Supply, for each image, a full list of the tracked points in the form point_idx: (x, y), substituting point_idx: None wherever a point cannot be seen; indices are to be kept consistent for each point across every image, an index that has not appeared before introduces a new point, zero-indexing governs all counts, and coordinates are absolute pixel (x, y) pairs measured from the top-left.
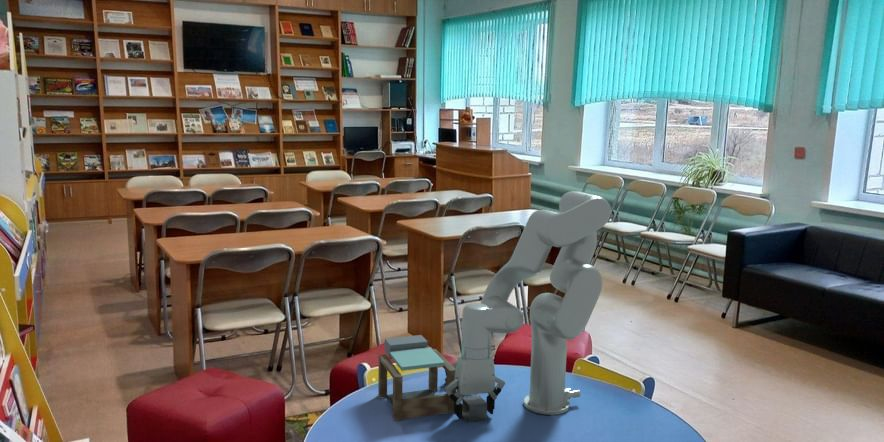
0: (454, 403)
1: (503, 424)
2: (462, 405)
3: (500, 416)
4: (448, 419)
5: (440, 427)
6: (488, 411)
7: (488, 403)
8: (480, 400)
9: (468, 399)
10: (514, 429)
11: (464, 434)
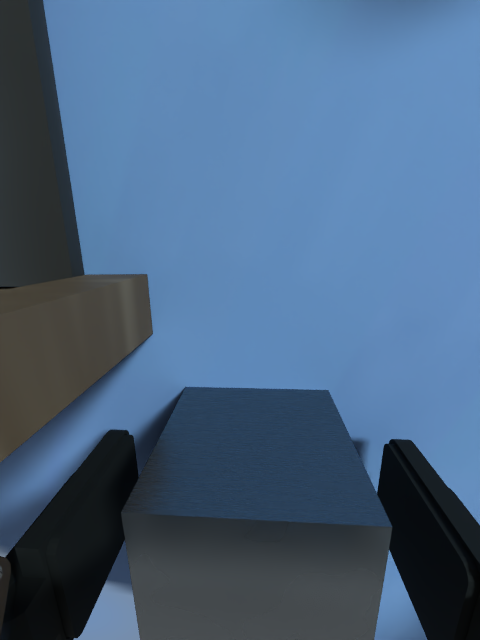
0: (13, 555)
1: (396, 572)
2: (159, 447)
3: (446, 484)
4: (76, 414)
5: (9, 489)
6: (380, 485)
7: (418, 552)
8: (322, 636)
9: (186, 572)
10: (421, 632)
11: (127, 589)
